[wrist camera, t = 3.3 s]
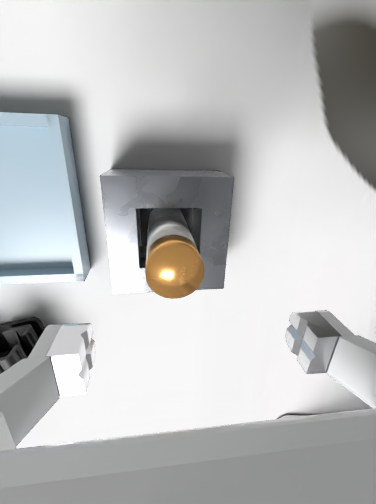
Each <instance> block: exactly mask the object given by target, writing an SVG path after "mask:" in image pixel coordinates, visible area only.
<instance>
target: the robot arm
mask: <svg viewBox="0 0 376 504" xmlns="http://www.w3.org/2000/svg"><path fill="white" fill-rule="evenodd" d="M289 321H290V323H291V325H290V326H289V327H288V328H287V331H286V342H287V345H288V347H289V349H290V350H291V352H293V353H294V354H296V355H297V356H298V358H297V361H298V362H299V364H300V365H301V367H302V368H303V370H304V371H305V373H306V374H314V373H327V375H329V376H330V377H331V378H333V379H334V380H335V381H337V382H338V383H339V384H341V385H342V386H343V387H345V388H346V389H348V390H349V391H350V392H352V393H353V394H354V395H356V396H357V397H358V398H360V399H361V400H362V401H364V402H365V403H366V404H368V405H369V406H370V407H372V408H371V409H363V410H354V411H345V412H336V413H327V414H319V415H310V416H301V415H286V416H282V417H281V418H279V419H275V420H266V421H257V422H248V423H240V424H231V425H222V426H213V427H204V428H195V429H187V430H178V431H169V432H160V433H151V434H143V435H134V436H125V437H116V438H107V439H99V440H90V441H81V442H72V443H63V444H55V445H46V446H37V447H28V448H20V449H16V446H17V445H18V444H19V443H20V442H21V440H22V439H23V438H24V437H25V436H26V435H27V434H28V433H29V432H30V430H31V429H32V428H33V427H34V426H35V425H36V424H37V423H38V422H39V420H40V419H41V418H42V417H43V416H44V415H45V414H46V413H47V412H48V411H49V409H50V408H51V407H52V406H53V405H54V404H55V403H56V402H57V401H58V399H59V397H61V396H70V395H78V394H85V393H86V390H87V386H88V383H89V379H90V374H89V370H90V369H91V368H92V367H93V364H94V359H95V341H94V340H93V339H92V338H91V337H92V334H93V328H92V324H91V323H84V324H58V325H48V326H47V327H46V328H45V330H44V331H43V333H42V335H41V336H40V338H39V340H38V341H37V343H36V345H35V347H34V348H33V350H32V352H31V353H30V355H29V357H28V358H26V359H22V360H20V361H19V362H17V363H16V364H14V365H13V366H12V367H10V368H9V369H7V370H6V371H4V372H3V373H1V374H0V504H376V343H374V342H372V341H369V340H367V339H365V338H363V337H361V336H359V335H358V336H355V335H354V334H353V333H352V332H351V331H350V330H349V329H347V328H346V327H345V326H344V325H343V324H342V323H341V322H340V321H339V320H338V319H337V318H336V317H335V316H334V315H333V314H332V313H330V312H329V311H327V310H321V311H312V312H295V313H292V314H291V315H290V318H289Z"/></svg>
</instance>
